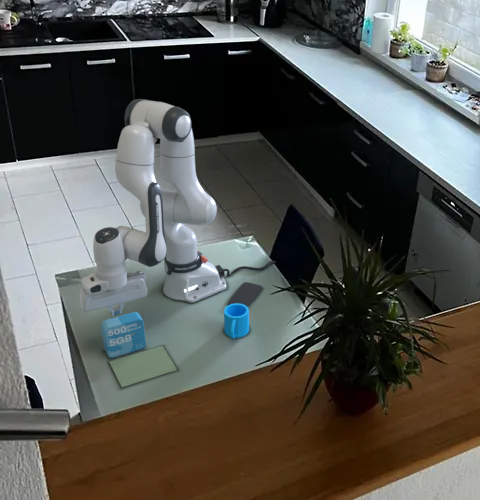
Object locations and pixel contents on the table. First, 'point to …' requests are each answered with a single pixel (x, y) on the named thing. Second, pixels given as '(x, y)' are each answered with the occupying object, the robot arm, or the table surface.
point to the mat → (142, 366)
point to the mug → (236, 320)
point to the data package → (123, 334)
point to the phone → (245, 294)
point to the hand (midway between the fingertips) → (116, 313)
